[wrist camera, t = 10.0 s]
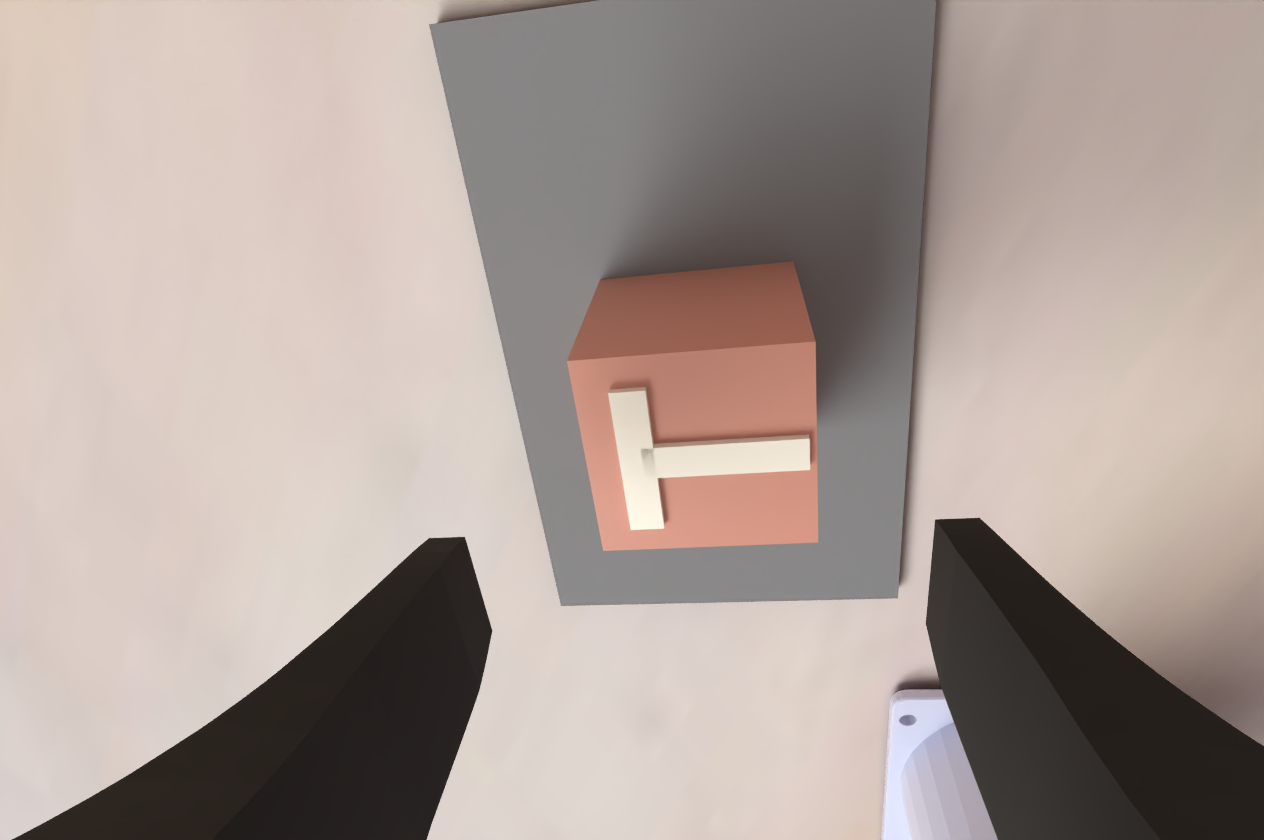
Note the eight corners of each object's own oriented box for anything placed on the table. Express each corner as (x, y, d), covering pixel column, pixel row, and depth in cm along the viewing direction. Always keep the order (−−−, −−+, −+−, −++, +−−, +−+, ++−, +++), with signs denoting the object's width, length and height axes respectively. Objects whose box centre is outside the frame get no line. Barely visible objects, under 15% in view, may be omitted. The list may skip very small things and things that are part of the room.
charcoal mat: (895, 588, 22) (898, 598, 22) (563, 596, 23) (561, 605, 23) (933, -48, 14) (939, -50, 14) (435, 23, 16) (429, 24, 15)
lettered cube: (798, 430, 19) (819, 547, 15) (625, 441, 20) (602, 555, 16) (793, 261, 17) (816, 345, 13) (599, 279, 18) (565, 364, 14)
